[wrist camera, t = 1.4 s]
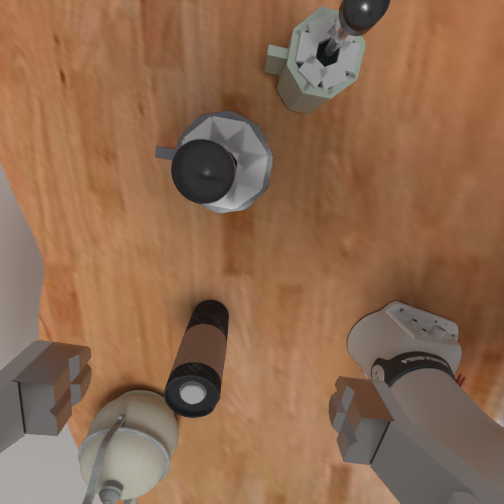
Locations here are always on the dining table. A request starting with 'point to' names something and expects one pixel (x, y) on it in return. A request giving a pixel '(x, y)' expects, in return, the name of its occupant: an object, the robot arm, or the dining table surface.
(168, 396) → the travel mug
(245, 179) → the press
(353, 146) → the dining table surface
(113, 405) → the kettle
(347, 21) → the plunger small
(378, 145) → the dining table surface
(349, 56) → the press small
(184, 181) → the plunger
